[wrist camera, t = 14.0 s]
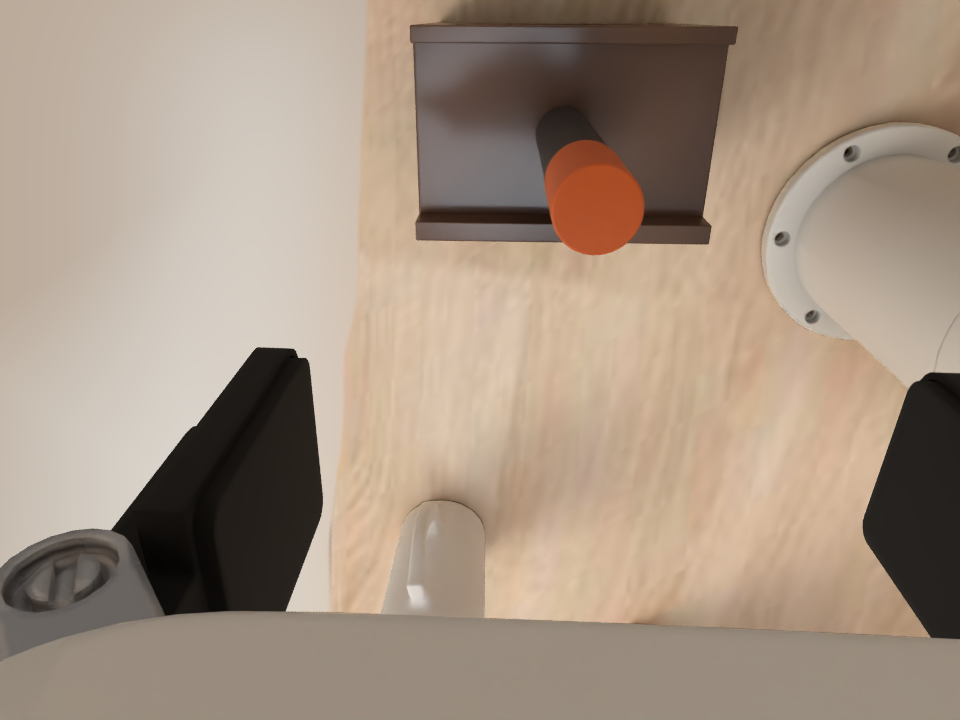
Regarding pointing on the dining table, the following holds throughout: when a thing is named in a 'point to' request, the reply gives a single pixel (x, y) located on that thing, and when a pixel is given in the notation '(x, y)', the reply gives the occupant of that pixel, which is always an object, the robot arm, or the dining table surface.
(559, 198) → the marker
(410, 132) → the dining table surface
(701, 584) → the dining table surface
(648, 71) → the shelf
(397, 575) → the mug
